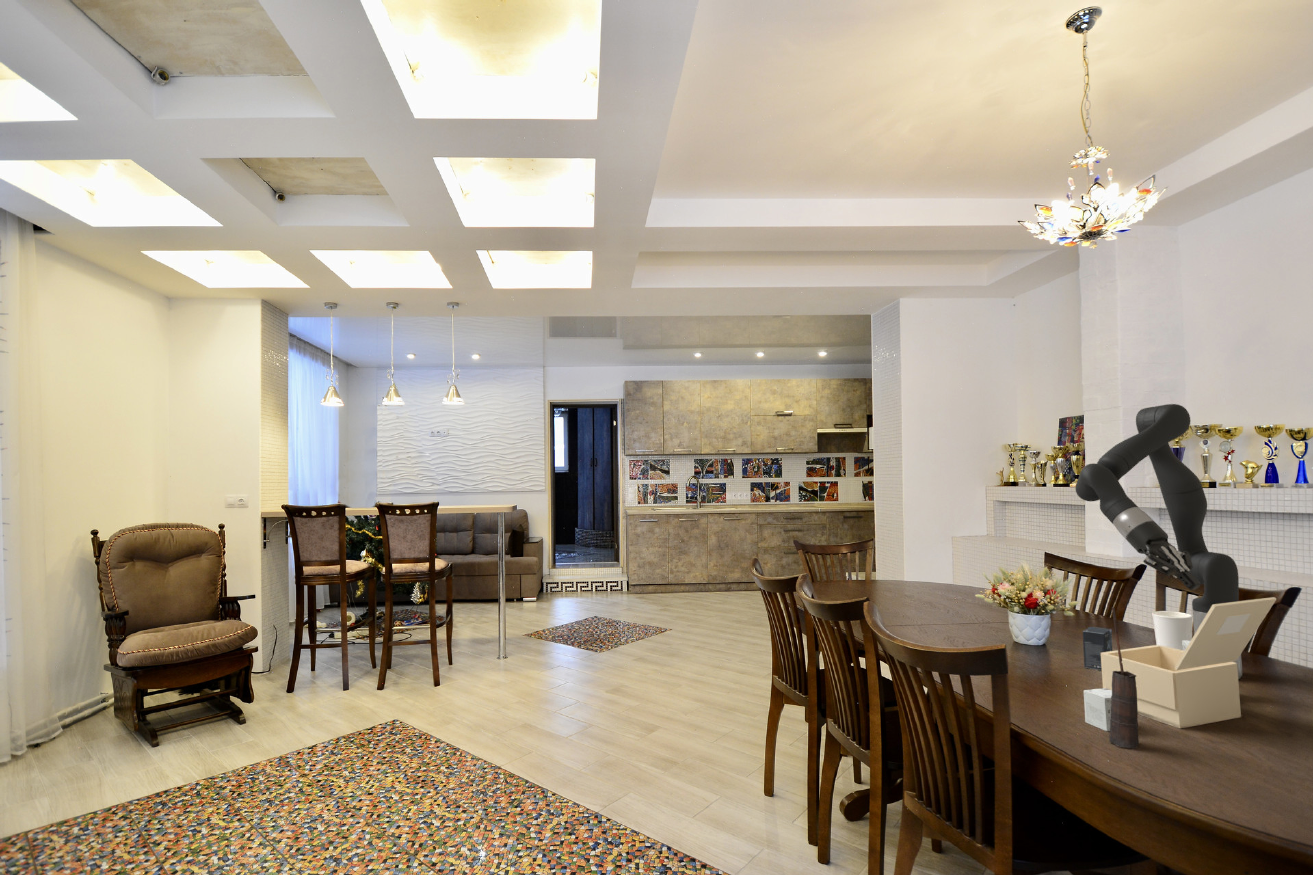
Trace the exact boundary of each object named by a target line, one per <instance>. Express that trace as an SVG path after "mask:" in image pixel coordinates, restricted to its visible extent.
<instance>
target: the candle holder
mask: <svg viewBox="0 0 1313 875" xmlns="http://www.w3.org/2000/svg"><path fill="white" fill-rule="evenodd" d="M1151 615H1152V616H1151V617H1152V623H1153V629H1154V637H1155V645H1160V646H1166V647H1171V648H1175V649H1179V650H1183V645H1182V640H1185V641H1191V639H1192V638H1193V614H1190V613H1189V614H1188V613H1187V612H1179V611H1170V610H1169V611H1168V610H1158V611H1157V610H1156V611H1153V612H1151Z"/></svg>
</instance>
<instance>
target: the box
mask: <svg viewBox="0 0 1313 875" xmlns="http://www.w3.org/2000/svg"><path fill="white" fill-rule="evenodd" d="M1112 632H1113V631H1112V628H1105V627H1097V626H1089V627H1088V628H1086V629H1084V630H1083V631H1082V644H1083V646H1082V647H1083V666H1084V668H1087V669H1090V670H1097V671H1102V666H1101V653H1102V652H1109V651H1114V650H1113V638H1112V637H1113V636H1112Z"/></svg>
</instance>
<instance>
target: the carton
mask: <svg viewBox="0 0 1313 875" xmlns="http://www.w3.org/2000/svg"><path fill="white" fill-rule="evenodd" d="M1120 651H1121V657H1122V664H1123V670H1124V671H1128V672H1130V673H1132V674H1134V675H1136V677H1135V678H1136V679H1135V680H1136V687H1137V707H1138V708H1137V709H1138V714H1137V715H1138V716H1142V717H1145V718H1148V719H1151V720H1153V721H1157V722H1159V723H1162V724H1166V725H1169V726H1172V727H1174V728H1177V729H1180V730H1181V729H1185V728H1191V727H1195V726H1201V725H1205V724H1210V723H1216V722H1221V721H1227V720H1232V719H1233V720H1234V719H1239V718H1242V714H1241V712H1242V711H1241V701H1240V686H1239V685H1240V683H1239V679H1238V670H1237V663H1235V662H1227V663H1220V664H1214V665H1207V666H1201V667H1194V668H1188V669H1182V670H1176V669H1174V668H1175V666H1176V664H1177V663H1178V661H1179V659H1180V658H1181V656H1182V654H1183V653H1184V651H1183V650H1179V649H1175V648H1171V647H1166V646H1160V645H1156V644H1155V645H1154V644H1153V645H1146V646H1140V647H1138V646H1137V647H1132V648H1125V649H1120ZM1101 666H1102V670H1101V680H1102V689H1103V688H1107V689H1110V690H1112V675H1113V671H1121V669H1120V663H1119V655H1118V649H1117V650H1113V651H1109V652H1102V653H1101Z"/></svg>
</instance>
